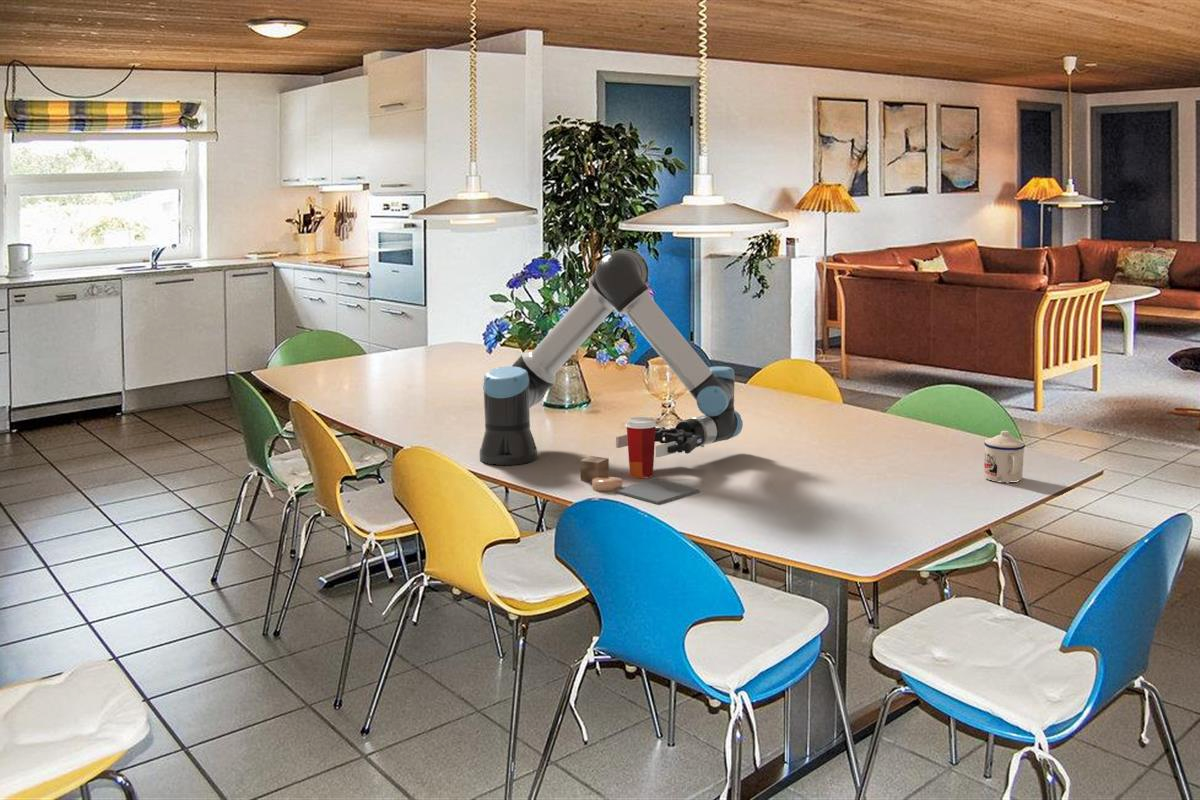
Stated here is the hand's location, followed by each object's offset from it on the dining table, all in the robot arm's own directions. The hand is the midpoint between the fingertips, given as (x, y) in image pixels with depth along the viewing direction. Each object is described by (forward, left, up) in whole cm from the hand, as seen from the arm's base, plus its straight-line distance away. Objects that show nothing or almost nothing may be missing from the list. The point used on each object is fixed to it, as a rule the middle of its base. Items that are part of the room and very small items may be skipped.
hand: (636, 447), depth 274 cm
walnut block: (-6, -8, -8) cm, 13 cm away
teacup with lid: (+66, +58, -8) cm, 88 cm away
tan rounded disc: (+2, -12, -8) cm, 14 cm away
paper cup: (0, +2, -8) cm, 8 cm away
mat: (+13, -6, -7) cm, 16 cm away
